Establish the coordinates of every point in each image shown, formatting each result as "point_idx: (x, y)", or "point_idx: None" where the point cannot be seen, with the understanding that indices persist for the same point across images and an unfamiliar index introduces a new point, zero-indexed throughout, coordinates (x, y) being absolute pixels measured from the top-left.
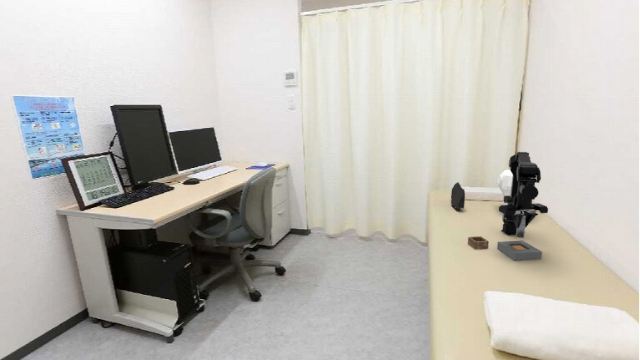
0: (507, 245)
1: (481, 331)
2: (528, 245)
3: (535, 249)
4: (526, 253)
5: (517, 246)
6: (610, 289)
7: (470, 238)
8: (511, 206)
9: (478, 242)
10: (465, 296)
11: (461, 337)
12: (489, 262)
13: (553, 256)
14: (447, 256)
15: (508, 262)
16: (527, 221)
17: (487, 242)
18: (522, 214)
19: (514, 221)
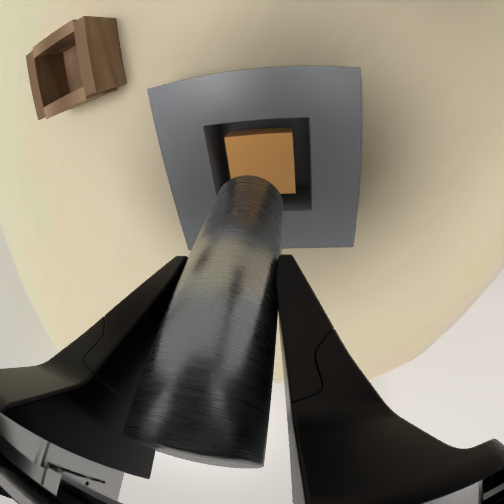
0: (187, 149)
1: None
2: (340, 159)
3: (338, 220)
4: None
5: (261, 148)
6: (373, 359)
7: (29, 73)
8: (2, 493)
9: (51, 116)
10: (70, 330)
11: None
12: (105, 220)
13: (433, 191)
14: (7, 180)
15: (175, 224)
16: (284, 377)
17: (94, 93)
18: (197, 455)
19: (119, 309)
